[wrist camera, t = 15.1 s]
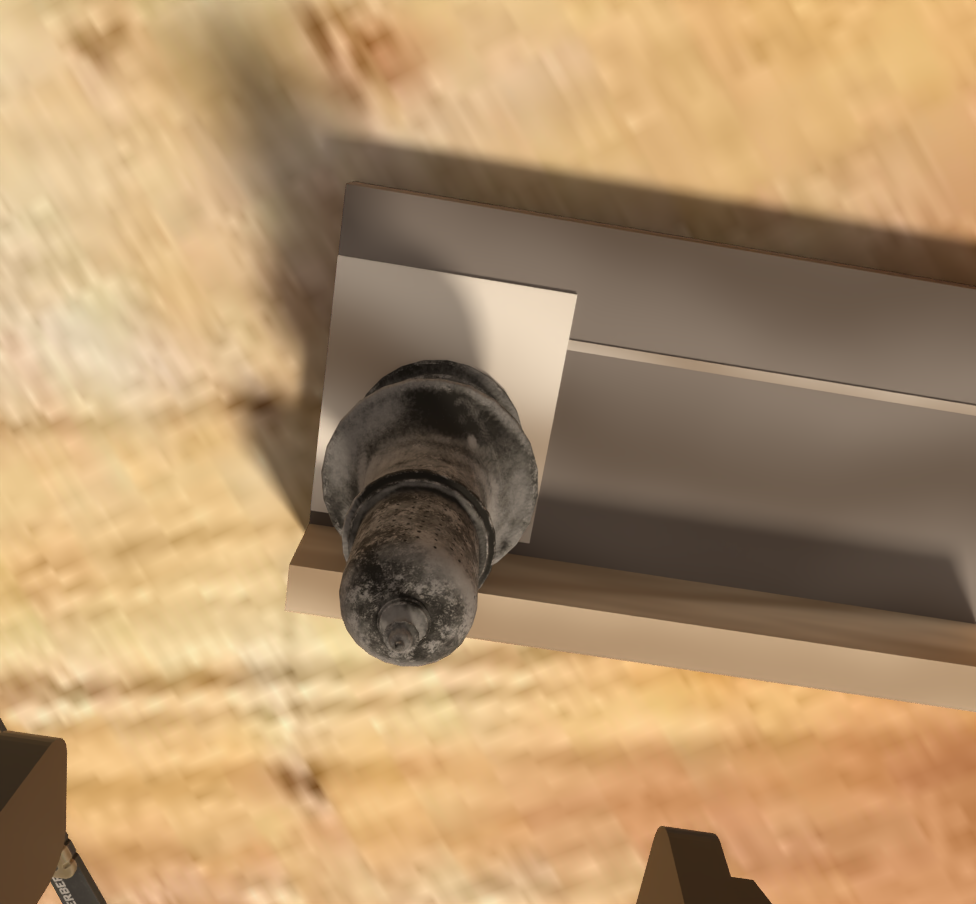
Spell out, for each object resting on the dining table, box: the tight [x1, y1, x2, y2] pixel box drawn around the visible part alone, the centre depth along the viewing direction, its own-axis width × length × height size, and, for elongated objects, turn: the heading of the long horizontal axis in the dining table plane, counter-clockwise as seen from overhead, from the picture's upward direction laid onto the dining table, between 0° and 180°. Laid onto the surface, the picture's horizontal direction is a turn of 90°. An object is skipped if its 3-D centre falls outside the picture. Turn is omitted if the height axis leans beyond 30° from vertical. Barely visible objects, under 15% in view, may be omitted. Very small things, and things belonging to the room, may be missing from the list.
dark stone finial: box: [321, 360, 538, 666], centre depth 22 cm, size 6×6×12 cm
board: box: [285, 182, 976, 712], centre depth 27 cm, size 12×22×4 cm, turn 81°
